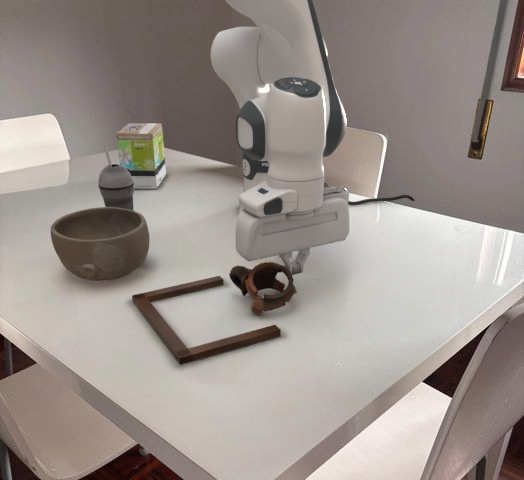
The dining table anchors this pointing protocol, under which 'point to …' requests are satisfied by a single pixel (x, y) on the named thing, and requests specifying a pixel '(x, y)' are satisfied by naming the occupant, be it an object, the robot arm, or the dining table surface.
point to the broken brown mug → (264, 285)
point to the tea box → (142, 153)
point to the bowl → (101, 242)
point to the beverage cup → (116, 185)
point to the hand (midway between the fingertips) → (293, 273)
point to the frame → (173, 340)
